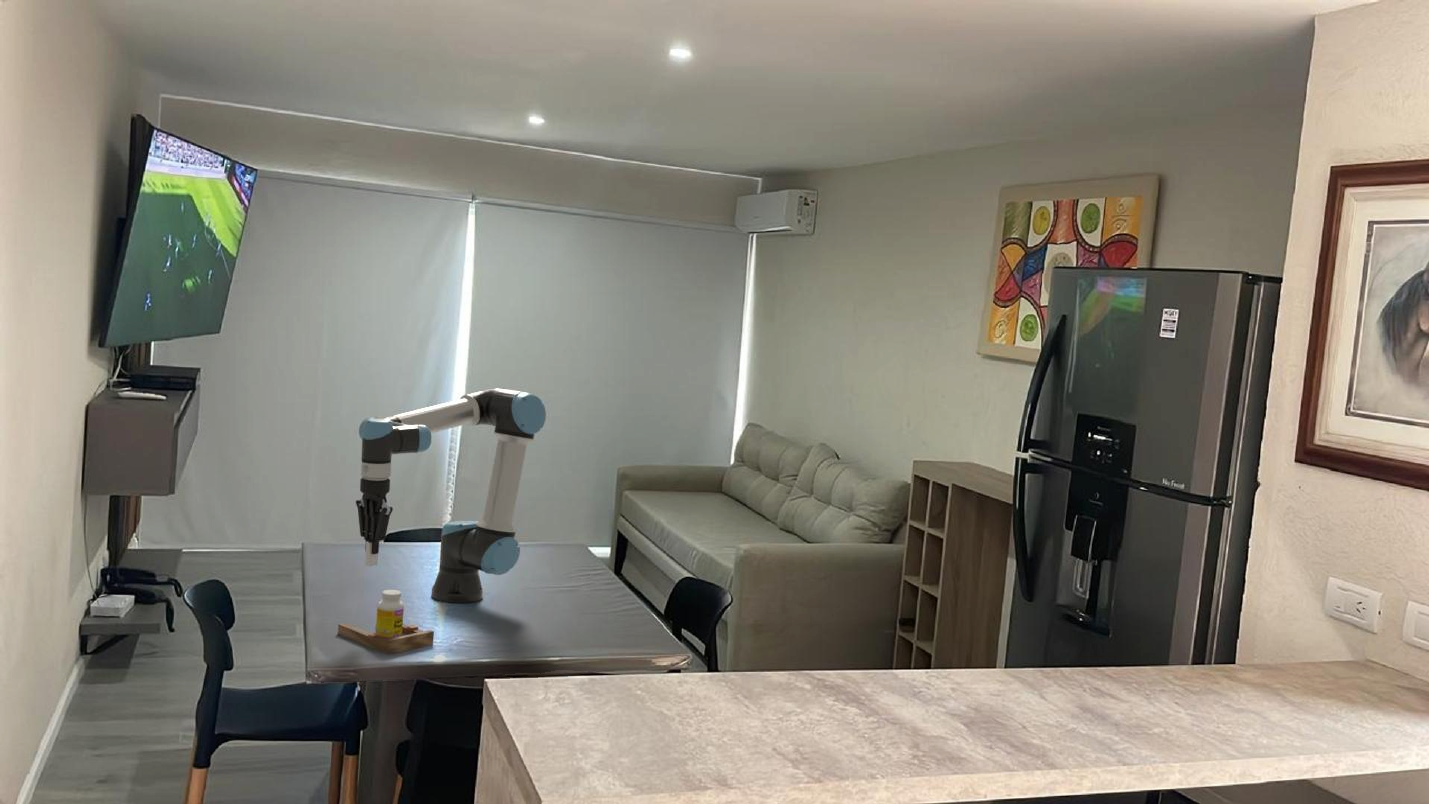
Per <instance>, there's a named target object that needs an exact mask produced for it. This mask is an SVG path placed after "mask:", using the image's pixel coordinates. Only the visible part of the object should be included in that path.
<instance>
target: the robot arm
mask: <svg viewBox="0 0 1429 804" xmlns="http://www.w3.org/2000/svg"><path fill="white" fill-rule="evenodd" d="M546 411H547V410H546V407H545V404H544V403H543V401H542V400H541V398H540V397H539V396H537V395H535V394H532V393H530V392H527V391H519V390H514V389H507V388H504V387H503V388H502V387H496V388H495V387H494V388H489V389H483V390H480V391H475V392H471V393H467V394H464V395H462V396H461V397H460V398H459V399H456V400H452V401H448V402H445V403H440V404H435V405H431V406H428V407H424V408H423V407H422V408H419V409H416V410H412V411H408V412H403V413H399V414H395V415H389V416H385V417H381V418H379V417H377V416H374V417H372V416H371V417H366V418H365V419H364V420H363V421H361V423H360V425H359V429H358V434H359V438H360V439H361V466H360V476H361V478H360V484H359V491H360V492H361V493H362V496H361V499H357V500H356V501H355V505H356V507H357V514H358V515H357V516H358V525H359V535H360V537H363V539H364V541H365V549H364V550H365V561H364V562H365V564H364V566H366V567H372V566H378V560H379V559H378V557H379V556H378V555H379V552H380V551H379V550H380V542H381V541H385V540H386V536H387V531H388V526H389V522H390V516H391V514H392V513H393V507H392V506H389V505H388V504H387V503H388V500H387V495H388V493H390V490H391V489H390V488H391V480H390V477H391V474H392V473H391V471H392V469H391V468H392V455H398V454H399V455H401V454H419V453H421V452H423V453H424V452H425V451H426V452H427V450H429V448H430V447H431V444H432V434H433V433H439V432H441V431H445V430H449V429H454V428H456V427H461V426H464V425H466V426H469V427H475V426H481V425H483V426H493V427H495V428H494V435H495V437H496V438H497V444H496V447H495V448H496V450H495V452H494V453H495V455H494V458H493V464H492V471H491V476H490V478H489V479H490V480H489V485H488V491H487V495H486V496H487V497H486V499H485V500H486V502H485V505H484V511H483V517H482V519H481V520H480V521H478V520H456V521H450V522H449V521H447V522H446V523H444V525H442V529H441V534H440V552H439V553H440V554H439V566H438V567H439V569H438V571H437V572H438V573H437V575H436V578H435V581H434V584H433V585H432V587H431V593H430V595H431V598H433V599H435V600H437V601H440V602H445V603H451V604H455V603H456V604H464V603H465V604H467V603H475V602H478V601H480V600H482V599H483V587H482V583H481V579H480V573H479V571H481V572H484V573H485V574H487V575H496V576H501V575H504V574H507V573H509V572H510V571H511V569H513V568H514V567H515V566H516V564H517V562H518V561H519V557H520V555H521V547H520V545H519V542H518V541H517V539H516V538H515V537H516V532H517V531H516V529H515V527H514V526H513V520H514V513H515V510H516V503H517V499H518V495H519V488H520V485H521V484H520V482H521V478H522V477H521V476H522V473H523V467H524V464H525V458H526V451H527V446H528V445H529V444H530V443H531V442H533V441H534V437H535V434H536V433H539V432H540V431H541V429H543V427H544V426H545V424H546V419H547V412H546Z"/></svg>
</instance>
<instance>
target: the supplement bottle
mask: <svg viewBox="0 0 1429 804" xmlns="http://www.w3.org/2000/svg"><path fill="white" fill-rule="evenodd" d="M381 596H382V599H381V600H380V601H379V602H378V604H377V609H376V620H375V621H376V622H375V623H376V624H375V633H377V634H380V637H381V638H384V639H390V638H395V637H400V636H402V624H404V623H403V622H404V610H405V604H404V602H403V601H402V600H401V597H402V592H401V591H400V590H396V589H385V590H383V591H382V594H381Z"/></svg>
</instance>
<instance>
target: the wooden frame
mask: <svg viewBox="0 0 1429 804" xmlns="http://www.w3.org/2000/svg"><path fill="white" fill-rule="evenodd" d="M337 626H338V627H337V634H338V635H340V636H343V637H346V638H348V639H349V640H353V641H355V642H357V643H360V644H362V645H365V646H367V647H369V648H372V649H374V650H376V651H378V652H381V653H384V654H386V655H391V654H392V655H393V654H396V653H401V652H405V651H410V650H414V649H419V648H424V647H427V646H431V645H434V634H435V631H434V630H431V629H430V630H428V629H427V630H421V629H419V626H418V625H415V624H412V625H408V624H406V623H403V624H402V636H400V637H395V638H390V639H384V638H381V637H380V634H377V633H376V632H373V633H370V632H368V631H366V630H363V629H362V628H359V627H355V626H353V625H351V624H348V623H346V622H343V623H338V625H337Z"/></svg>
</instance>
